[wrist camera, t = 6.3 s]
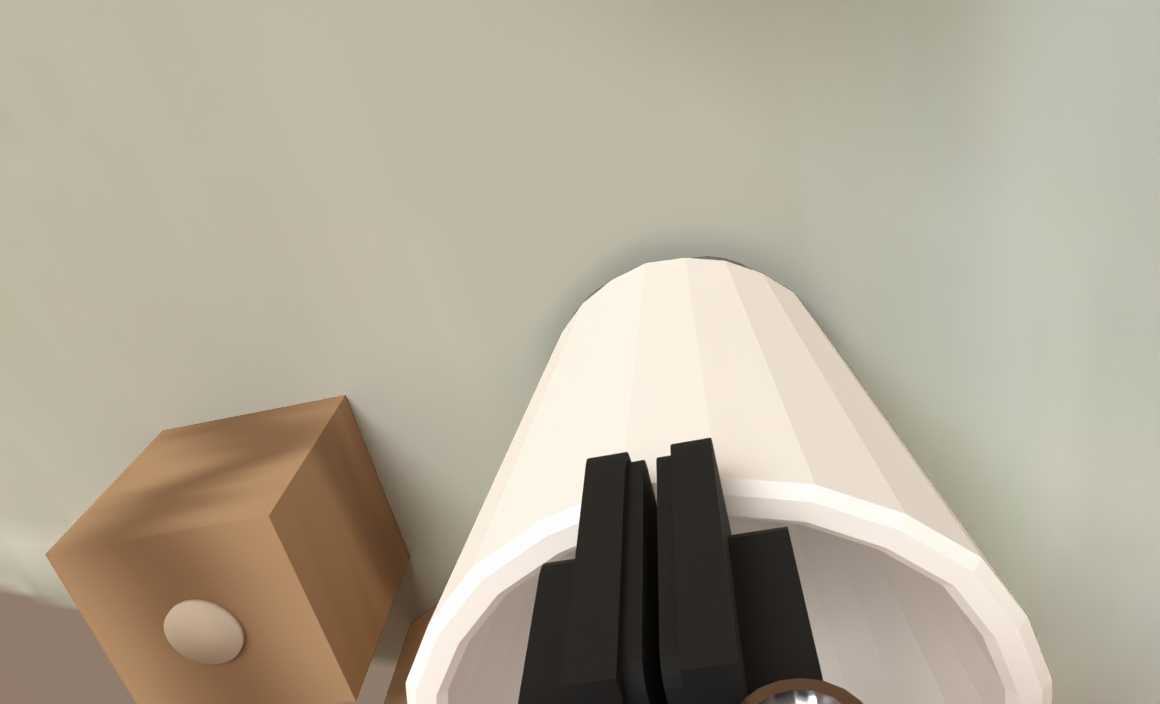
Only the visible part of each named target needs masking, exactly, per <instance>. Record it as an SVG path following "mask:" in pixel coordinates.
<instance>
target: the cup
mask: <svg viewBox="0 0 1160 704" xmlns="http://www.w3.org/2000/svg"><path fill="white" fill-rule="evenodd" d="M705 438H711V439H712V443H713V447H714V452H715V457H716V462H717V466H718V471H719V476H720V481H721V486H722V490H723V495H724V500H725V505H726V510H727V514H728V519H729V524H730V529H731V534H732V535H734V534H740V533H747V532H753V531H760V530H767V529H773V528H780V527H788V530H789V534H790V539H791V543H792V547H793V552H794V556H795V560H796V564H797V569H798V573H799V577H800V582H801V586H802V590H803V595H804V599H805V603H806V608H807V612H808V616H809V621H810V625H811V629H812V634H813V638H814V642H815V647H816V651H817V655H818V660H819V664H820V668H821V673H822V677H823V681H826V682H828V683H831V684H834V685H836V686H839V687H841V688H844V689H845V690H847V691H848V692H850V693H851V694H852V695H854V696H855V697H856V698H858V699H859V700H860V701H862V703H863V704H1052V678H1051V676H1050V673H1049V671H1048V668H1047V665H1046V663H1045V660H1044V658H1043V655H1042V653H1041V650H1040V647H1039V645H1038V642H1037V640H1036V637H1035V634H1034V632H1033V629H1032V627H1031V624H1030V622H1029V619H1028V617H1027V615H1026V614H1025V613H1024V611H1023V610H1022V608H1021V607H1020V606H1019V604H1018V603H1017V601H1016V600H1015V599H1014V597H1013V596H1012V594H1011V593H1010V592H1009V590H1008V589H1007V587H1006V586H1005V585H1004V583H1003V582H1002V580H1001V579H1000V578H999V576H998V575H997V573H996V572H995V571H994V569H993V568H992V567H991V565H990V564H989V562H988V561H987V560H986V558H985V557H984V555H983V554H982V553H981V551H980V550H979V548H978V547H977V546H976V544H975V543H974V541H973V540H972V539H971V537H970V536H969V534H968V533H967V532H966V530H965V529H964V527H963V526H962V525H961V523H960V522H959V520H958V519H957V518H956V516H955V515H954V514H953V512H952V511H951V509H950V508H949V507H948V505H947V504H946V502H945V501H944V500H943V498H942V497H941V495H940V494H939V493H938V491H937V490H936V488H935V487H934V486H933V484H932V483H931V481H930V480H929V479H928V477H927V476H926V474H925V473H924V472H923V470H922V469H921V467H920V466H919V465H918V463H917V462H916V461H915V459H914V458H913V456H912V455H911V454H910V452H909V451H908V449H907V448H906V447H905V445H904V444H903V442H902V441H901V440H900V438H899V437H898V435H897V434H896V433H895V431H894V430H893V428H892V427H891V426H890V424H889V423H888V421H887V420H886V419H885V417H884V416H883V414H882V413H881V412H880V410H879V409H878V408H877V406H876V405H875V403H874V402H873V401H872V399H871V398H870V396H869V395H868V394H867V392H866V391H865V389H864V388H863V387H862V385H861V384H860V382H859V381H858V380H857V378H856V377H855V375H854V374H853V373H852V371H851V370H850V368H849V367H848V366H847V364H846V363H845V361H844V360H843V359H842V357H841V356H840V355H839V353H838V352H837V350H836V349H835V348H834V346H833V345H832V343H831V342H830V341H829V339H828V338H827V336H826V335H825V334H824V332H823V331H822V330H821V328H820V327H819V325H818V324H817V323H816V321H815V320H814V319H813V317H812V316H811V315H810V314H809V312H808V311H807V310H806V308H805V307H804V306H803V304H802V303H801V302H800V301H799V299H798V298H797V297H796V295H795V294H794V293H793V292H791V291H790V290H788V289H787V288H785V287H783V286H782V285H780V284H778V283H777V282H775V281H773V280H772V279H770V278H769V277H767V276H765V275H764V274H762V273H759V272H756V271H754V270H752V269H749V268H747V267H746V266H744V265H742V264H740V263H737V262H734V261H731V260H728V259H724V258H718V257H708V256H706V257H697V258H680V259H673V260H665V261H658V262H650V263H645V264H643V265H641V266H639V267H637V268H635V269H633V270H631V271H629V272H627V273H625V274H623V275H621V276H619V277H617V278H615V279H613V280H611V281H610V282H609V283H608V284H606V285H604V286H603V287H601V288H599V289H597V290H596V291H595V292H594V293H593V294H591V295H590V296H589V297H588V298H587V299H586V300H585V301H584V302H583V304H582V305H581V306H580V307H579V308H578V310H577V311H576V312H575V314H574V315H573V317H572V319H571V320H570V322H569V323H568V325H567V326H566V328H565V329H564V330H563V332H562V334H561V336H560V338H559V340H558V342H557V345H556V347H555V349H554V351H553V353H552V355H551V358H550V360H549V362H548V364H547V366H546V369H545V371H544V373H543V375H542V377H541V379H540V382H539V384H538V386H537V388H536V390H535V393H534V395H533V397H532V399H531V401H530V404H529V406H528V408H527V410H526V412H525V414H524V417H523V419H522V421H521V423H520V425H519V428H518V430H517V432H516V434H515V436H514V439H513V441H512V443H511V445H510V447H509V449H508V452H507V454H506V456H505V458H504V460H503V463H502V465H501V467H500V469H499V471H498V474H497V476H496V478H495V480H494V482H493V484H492V487H491V489H490V491H489V493H488V495H487V498H486V500H485V502H484V504H483V506H482V509H481V511H480V513H479V515H478V517H477V519H476V522H475V524H474V526H473V528H472V530H471V533H470V535H469V537H468V539H467V541H466V544H465V546H464V548H463V550H462V552H461V554H460V557H459V559H458V561H457V563H456V565H455V568H454V570H453V572H452V574H451V576H450V579H449V581H448V583H447V585H446V587H445V589H444V592H443V594H442V596H441V598H440V600H439V603H438V605H437V607H436V609H435V611H434V614H433V616H432V618H431V620H430V622H429V625H428V627H427V630H426V632H425V635H424V637H423V640H422V642H421V645H420V647H419V650H418V652H417V655H416V657H415V660H414V663H413V665H412V668H411V670H410V673H409V675H408V678H407V680H406V694H407V704H518V699H519V693H520V687H521V681H522V675H523V669H524V663H525V657H526V651H527V645H528V639H529V633H530V627H531V621H532V615H533V609H534V603H535V597H536V591H537V585H538V579H539V574H540V570H541V566H542V565H543V564H544V563H549V562H555V561H562V560H569V559H575V554H576V545H577V537H578V528H579V519H580V510H581V502H582V493H583V484H584V476H585V467H586V461H587V459H588V458H593V457H599V456H605V455H611V454H617V453H622V452H628V454H629V456H630V459H631V462H634V461H640V460H645V462H646V464H647V468H648V471H649V475H650V480H651V484H652V488H653V492H654V496H655V500H656V504H657V470H656V459H657V458H658V457H663V456H669V455H671V452H670V445H671V444H675V443H681V442H687V441H693V440H699V439H705Z"/></svg>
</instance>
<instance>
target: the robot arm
mask: <svg viewBox="0 0 1160 704" xmlns="http://www.w3.org/2000/svg"><path fill="white" fill-rule="evenodd" d="M670 452H671V455H669V456H663V457H658V458H657V459H656V470H657V504H656V500H655V496H654V492H653V488H652V484H651V480H650V475H649V471H648V468H647V464H646V462H645V460H640V461H634V462H631V459H630V456H629V454H628V452H622V453H617V454H611V455H605V456H599V457H593V458H588V459H587V461H586V467H585V476H584V484H583V493H582V502H581V510H580V519H579V528H578V537H577V545H576V554H575V559H569V560H562V561H555V562H549V563H544V564H543V565H542V566H541V570H540V574H539V579H538V585H537V591H536V597H535V603H534V609H533V615H532V621H531V627H530V633H529V639H528V645H527V651H526V657H525V663H524V669H523V675H522V681H521V687H520V693H519V699H518V704H863V703H862V701H860V700H859V699H858V698H856V697H855V696H854V695H852V694H851V693H850V692H848V691H847V690H845V689H844V688H841V687H839V686H836V685H834V684H831V683H828V682H826V681H823V677H822V673H821V668H820V664H819V660H818V655H817V651H816V647H815V642H814V638H813V634H812V629H811V625H810V621H809V616H808V612H807V608H806V603H805V599H804V595H803V590H802V586H801V582H800V577H799V573H798V569H797V564H796V560H795V556H794V552H793V547H792V543H791V539H790V534H789V530H788V527H780V528H773V529H767V530H760V531H753V532H747V533H740V534H734V535H732V534H731V529H730V524H729V519H728V514H727V510H726V505H725V500H724V495H723V490H722V486H721V481H720V476H719V471H718V466H717V462H716V457H715V452H714V447H713V443H712V439H711V438H705V439H699V440H693V441H687V442H681V443H675V444H671V445H670Z"/></svg>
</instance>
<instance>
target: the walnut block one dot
mask: <svg viewBox="0 0 1160 704" xmlns="http://www.w3.org/2000/svg"><path fill="white" fill-rule="evenodd" d="M45 555H46V556H47V558H48V560H49V561H50V563H51V565H52V566H53V568H54V570H55V571H56V573H57V574H58V576H59V578H60V579H61V581H62V583H63V584H64V586H65V588H66V589H67V591H68V592H69V594H70V596H71V597H72V599H73V601H74V602H75V604H76V606H77V607H78V609H79V611H80V612H81V614H82V615H83V617H84V619H85V620H86V622H87V624H88V625H89V627H90V628H91V630H92V632H93V633H94V635H95V637H96V638H97V640H98V642H99V643H100V645H101V647H102V648H103V650H104V651H105V653H106V655H107V656H108V658H109V660H110V661H111V663H112V664H113V666H114V668H115V670H116V671H117V673H118V674H119V676H120V677H121V679H122V681H123V682H124V684H125V686H126V688H127V689H128V691H129V692H130V694H131V696H132V697H133V699H134V701H135V702H136V704H339V703H346V702H354V701H356V700H357V697H358V694H359V692H360V689H361V686H362V684H363V681H364V678H365V675H366V673H367V670H368V668H369V665H370V662H371V660H372V657H373V654H374V652H375V649H376V646H377V644H378V641H379V638H380V636H381V633H382V630H383V627H384V625H385V622H386V619H387V617H388V614H389V611H390V609H391V606H392V603H393V601H394V598H395V595H396V593H397V590H398V587H399V585H400V582H401V579H402V577H403V574H404V571H405V569H406V566H407V563H408V561H409V558H410V555H409V553H408V550H407V548H406V545H405V543H404V540H403V538H402V535H401V533H400V530H399V528H398V525H397V523H396V520H395V518H394V515H393V513H392V510H391V508H390V505H389V503H388V500H387V498H386V495H385V493H384V490H383V488H382V485H381V483H380V480H379V478H378V475H377V473H376V470H375V468H374V465H373V463H372V460H371V458H370V455H369V453H368V450H367V448H366V445H365V443H364V440H363V438H362V435H361V433H360V430H359V428H358V425H357V423H356V420H355V418H354V415H353V413H352V410H351V408H350V405H349V403H348V400H347V398H346V395H344V396H339V397H333V398H328V399H323V400H318V401H313V402H308V403H302V404H297V405H292V406H287V407H282V408H277V409H272V410H266V411H261V412H256V413H251V414H246V415H241V416H235V417H230V418H225V419H220V420H215V421H210V422H205V423H199V424H194V425H189V426H184V427H179V428H174V429H169V430H163V431H162V432H161V433H160V434H159V435H158V436H157V437H156V438H155V439H154V440H153V442H152V443H151V444H150V445H149V446H148V447H147V448H146V449H145V450H144V451H143V452H142V453H141V454H140V455H139V456H138V457H137V458H136V459H135V460H134V462H133V463H132V464H131V465H130V466H129V467H128V468H127V469H126V470H125V471H124V472H123V473H122V474H121V475H120V476H119V477H118V478H117V479H116V480H115V482H114V483H113V484H112V485H111V486H110V487H109V488H108V489H107V490H106V491H105V492H104V493H103V494H102V495H101V496H100V497H99V498H98V499H97V500H96V502H95V503H94V504H93V505H92V506H91V507H90V508H89V509H88V510H87V511H86V512H85V513H84V514H83V515H82V516H81V517H80V518H79V519H78V520H77V522H76V523H75V524H74V525H73V526H72V527H71V528H70V529H69V530H68V531H67V532H66V533H65V534H64V535H63V536H62V537H61V538H60V539H59V540H58V542H57V543H56V544H55V545H54V546H53V547H52V548H51V549H50V550H49V551H48V552H47V553H46V554H45Z"/></svg>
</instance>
